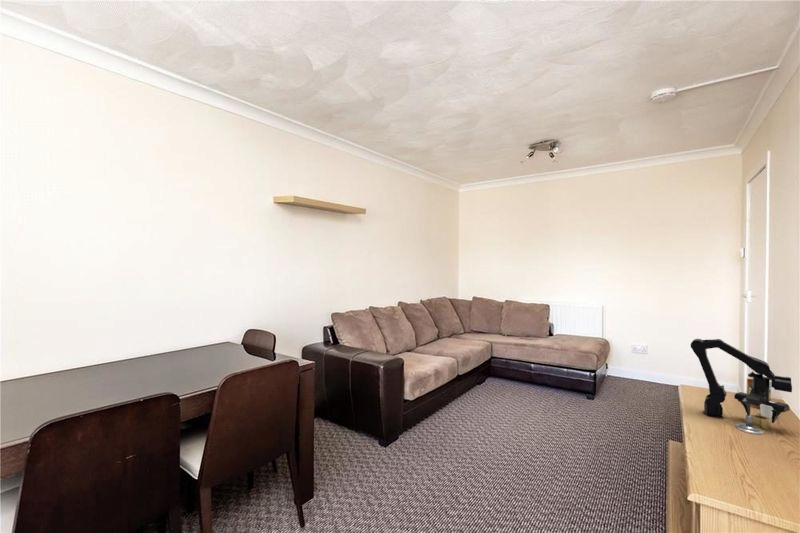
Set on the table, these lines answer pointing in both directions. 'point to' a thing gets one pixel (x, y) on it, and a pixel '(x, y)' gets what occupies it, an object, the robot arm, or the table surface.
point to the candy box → (750, 386)
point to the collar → (761, 421)
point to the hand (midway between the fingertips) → (760, 419)
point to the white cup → (766, 410)
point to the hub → (749, 426)
